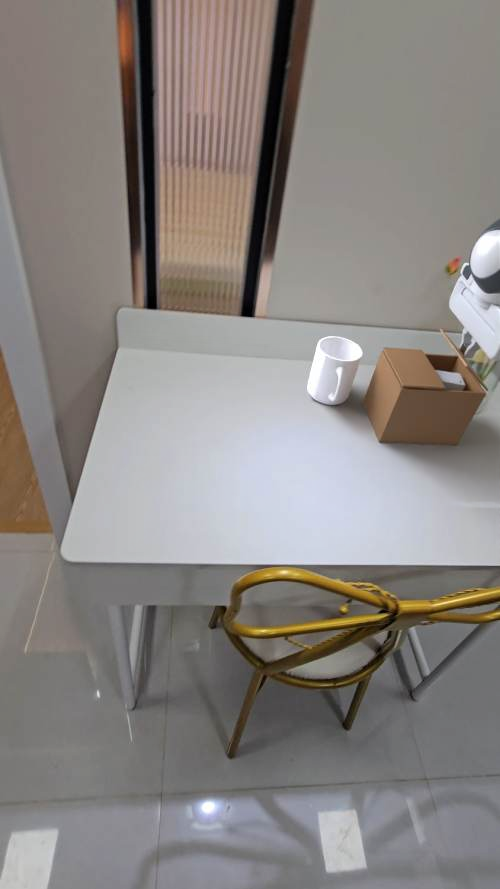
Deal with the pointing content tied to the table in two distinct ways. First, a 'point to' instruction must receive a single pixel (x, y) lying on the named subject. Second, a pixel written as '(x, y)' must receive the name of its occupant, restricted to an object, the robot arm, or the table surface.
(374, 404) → the carton
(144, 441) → the table surface
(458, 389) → the cosmetic box
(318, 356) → the mug
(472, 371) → the flap
